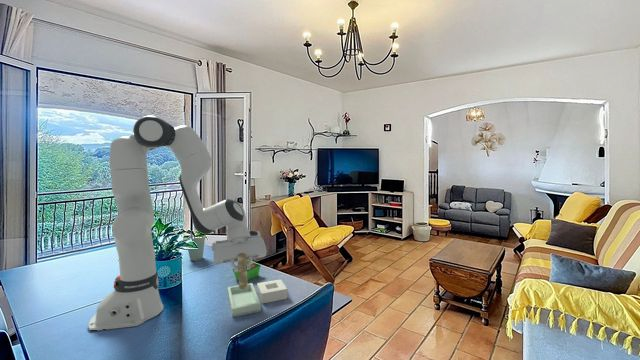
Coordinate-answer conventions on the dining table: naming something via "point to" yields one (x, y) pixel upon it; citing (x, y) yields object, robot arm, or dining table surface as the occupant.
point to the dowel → (242, 271)
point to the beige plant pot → (197, 253)
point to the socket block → (271, 291)
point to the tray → (243, 300)
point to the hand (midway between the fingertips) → (242, 269)
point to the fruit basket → (250, 271)
